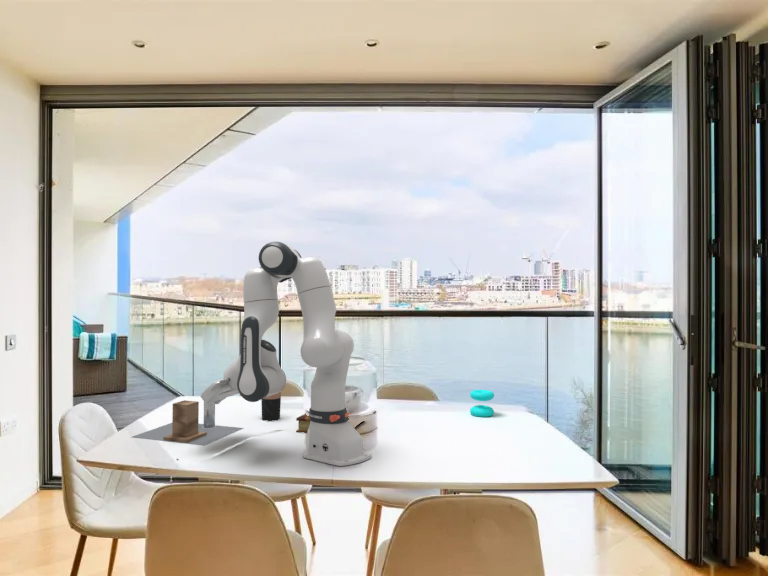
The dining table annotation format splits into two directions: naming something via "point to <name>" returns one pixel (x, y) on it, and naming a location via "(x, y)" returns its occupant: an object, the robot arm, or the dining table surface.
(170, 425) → the board
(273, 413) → the travel mug
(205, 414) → the peg
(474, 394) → the donuts
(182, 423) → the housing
